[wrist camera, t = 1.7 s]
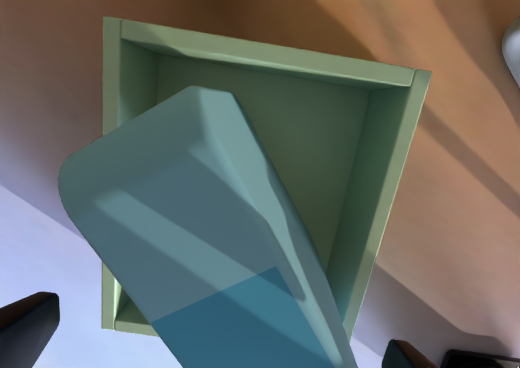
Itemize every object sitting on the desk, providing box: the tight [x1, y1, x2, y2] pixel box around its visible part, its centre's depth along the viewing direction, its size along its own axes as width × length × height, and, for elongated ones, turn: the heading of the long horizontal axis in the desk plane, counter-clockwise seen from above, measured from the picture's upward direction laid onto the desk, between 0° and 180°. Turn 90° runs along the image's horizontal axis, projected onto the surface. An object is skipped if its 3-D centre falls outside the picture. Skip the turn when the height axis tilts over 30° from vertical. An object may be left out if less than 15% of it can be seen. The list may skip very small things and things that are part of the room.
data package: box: [58, 86, 358, 368], centre depth 14 cm, size 12×4×12 cm, turn 28°
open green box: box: [102, 16, 432, 344], centre depth 18 cm, size 15×17×5 cm
